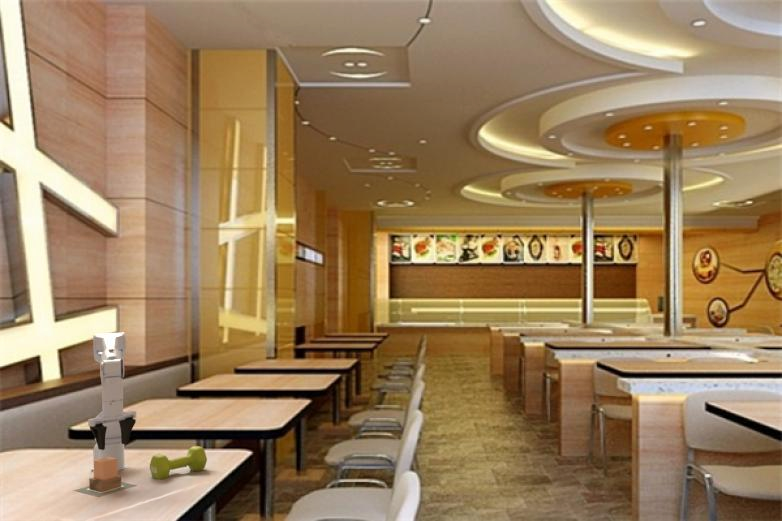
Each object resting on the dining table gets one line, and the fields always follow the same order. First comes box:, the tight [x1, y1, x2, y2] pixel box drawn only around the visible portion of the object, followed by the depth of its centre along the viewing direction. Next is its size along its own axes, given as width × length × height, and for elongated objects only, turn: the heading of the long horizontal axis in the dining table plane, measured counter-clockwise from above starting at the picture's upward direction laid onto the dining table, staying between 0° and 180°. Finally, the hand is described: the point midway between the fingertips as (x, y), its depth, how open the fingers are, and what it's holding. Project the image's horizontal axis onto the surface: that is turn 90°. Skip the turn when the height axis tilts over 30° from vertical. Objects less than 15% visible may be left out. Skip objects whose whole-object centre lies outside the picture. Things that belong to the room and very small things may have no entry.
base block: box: [88, 474, 122, 492], centre depth 193 cm, size 6×6×3 cm
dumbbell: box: [149, 445, 208, 480], centre depth 207 cm, size 16×8×7 cm, turn 137°
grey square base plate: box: [73, 481, 138, 498], centre depth 192 cm, size 12×12×1 cm
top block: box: [93, 457, 119, 480], centre depth 192 cm, size 4×4×5 cm
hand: (113, 446), depth 200 cm, fingers open, 7 cm apart
